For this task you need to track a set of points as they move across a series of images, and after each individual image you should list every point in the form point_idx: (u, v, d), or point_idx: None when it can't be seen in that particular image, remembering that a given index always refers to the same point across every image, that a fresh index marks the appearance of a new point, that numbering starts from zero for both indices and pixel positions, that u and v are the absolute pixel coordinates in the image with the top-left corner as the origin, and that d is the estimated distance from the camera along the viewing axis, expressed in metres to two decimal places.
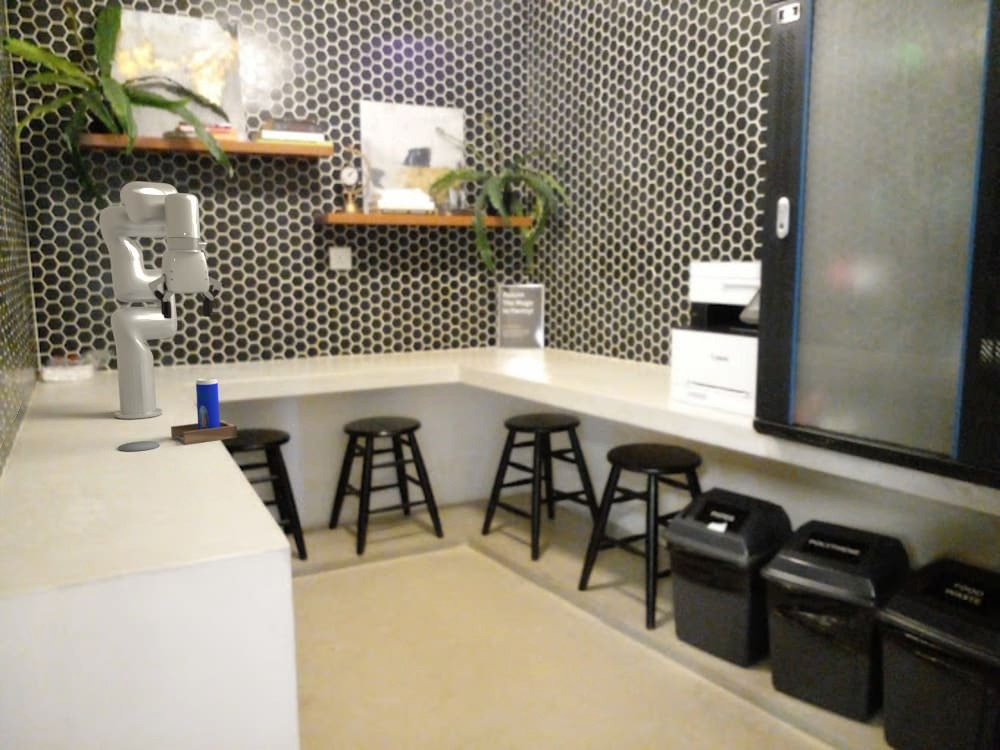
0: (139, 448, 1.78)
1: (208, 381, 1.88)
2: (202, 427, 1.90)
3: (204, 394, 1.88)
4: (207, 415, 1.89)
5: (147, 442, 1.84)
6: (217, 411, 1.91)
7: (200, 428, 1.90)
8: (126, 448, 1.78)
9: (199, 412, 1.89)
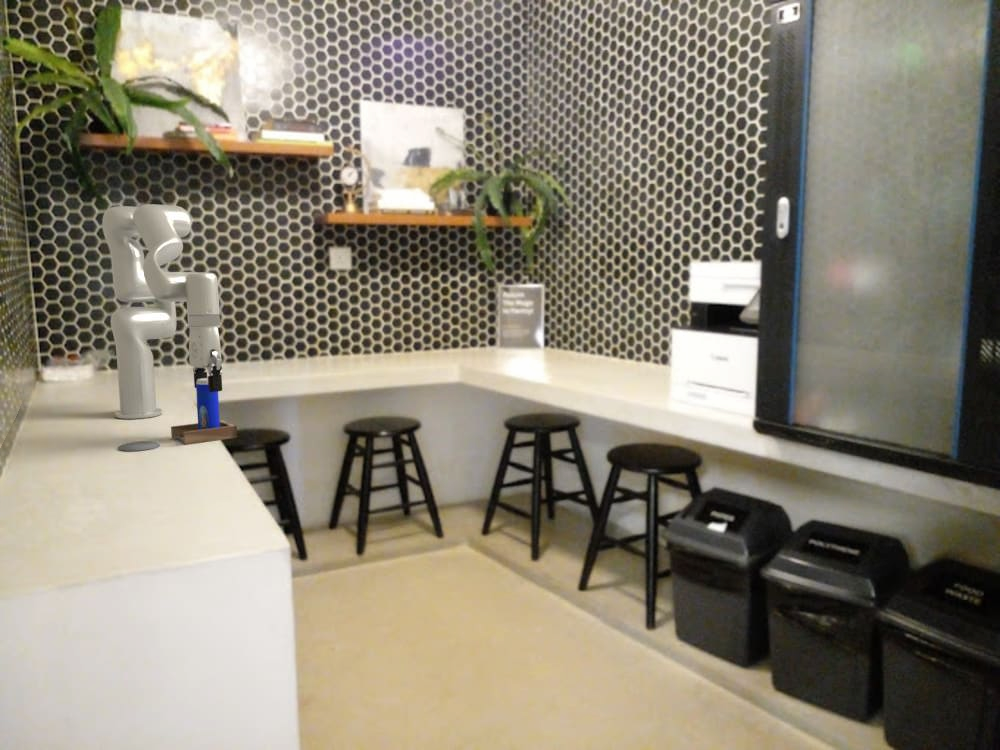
0: (139, 448, 1.78)
1: None
2: (202, 427, 1.90)
3: (204, 394, 1.88)
4: (207, 415, 1.89)
5: (147, 442, 1.84)
6: (217, 411, 1.91)
7: (200, 428, 1.90)
8: (126, 448, 1.78)
9: (199, 412, 1.89)
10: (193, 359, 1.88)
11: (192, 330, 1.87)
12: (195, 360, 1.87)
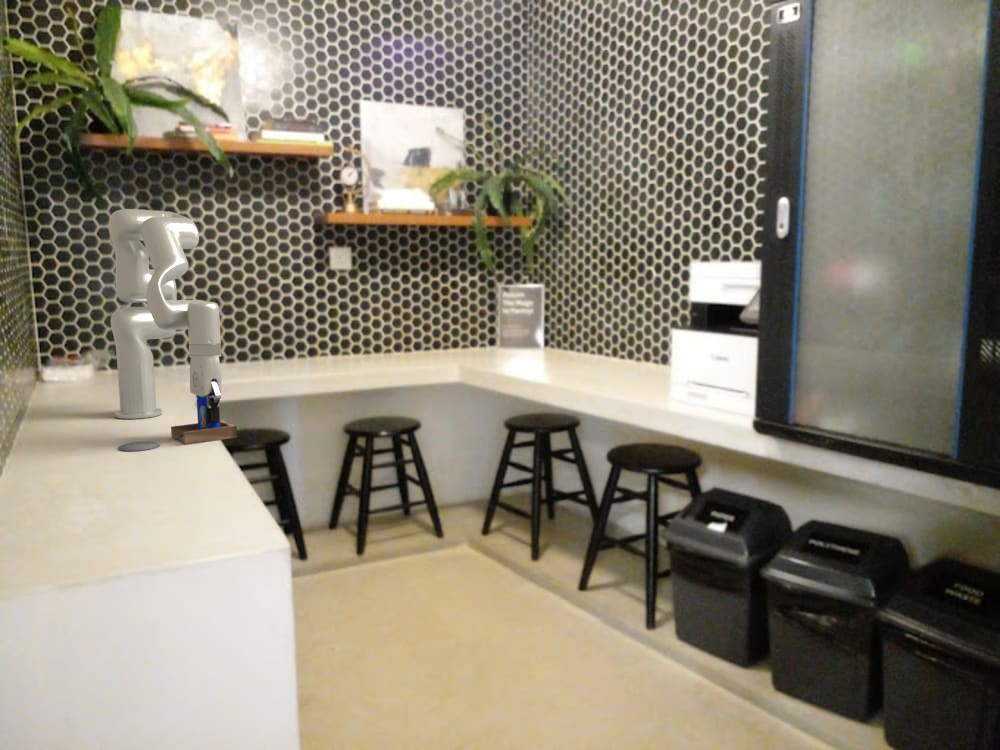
0: (139, 448, 1.78)
1: None
2: (202, 427, 1.90)
3: None
4: None
5: (147, 442, 1.84)
6: None
7: (200, 428, 1.90)
8: (126, 448, 1.78)
9: (199, 412, 1.89)
10: (194, 387, 1.90)
11: (193, 359, 1.89)
12: (196, 389, 1.89)
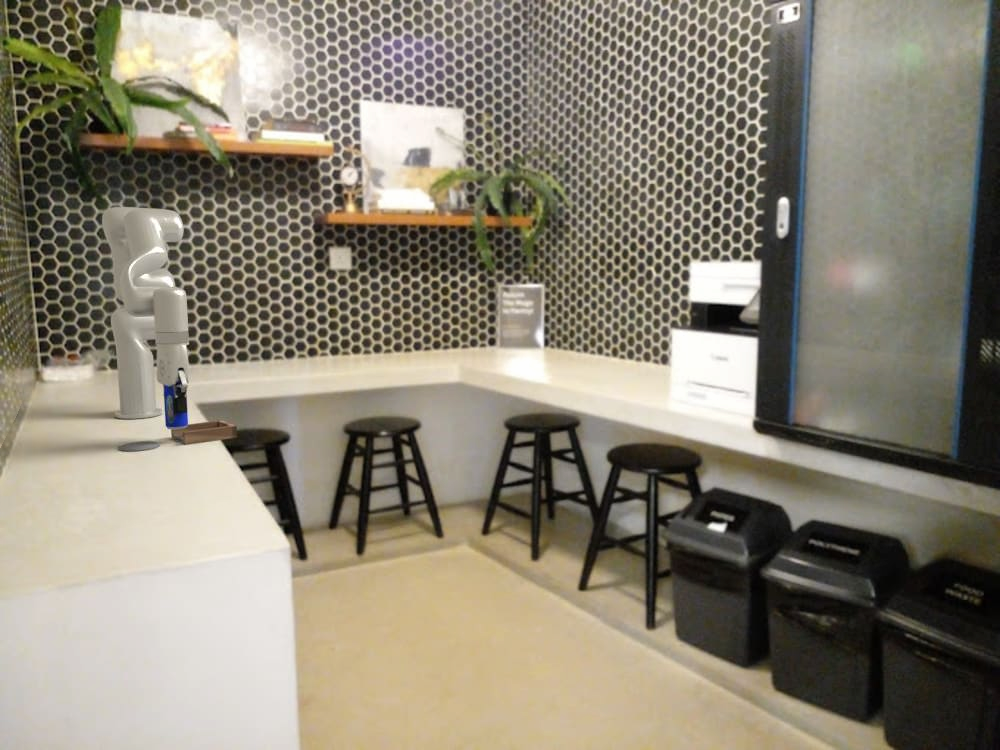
0: (139, 448, 1.78)
1: None
2: (169, 417, 1.84)
3: None
4: None
5: (147, 442, 1.84)
6: None
7: (167, 418, 1.84)
8: (126, 448, 1.78)
9: (166, 402, 1.84)
10: (160, 376, 1.84)
11: (160, 347, 1.83)
12: (162, 378, 1.83)
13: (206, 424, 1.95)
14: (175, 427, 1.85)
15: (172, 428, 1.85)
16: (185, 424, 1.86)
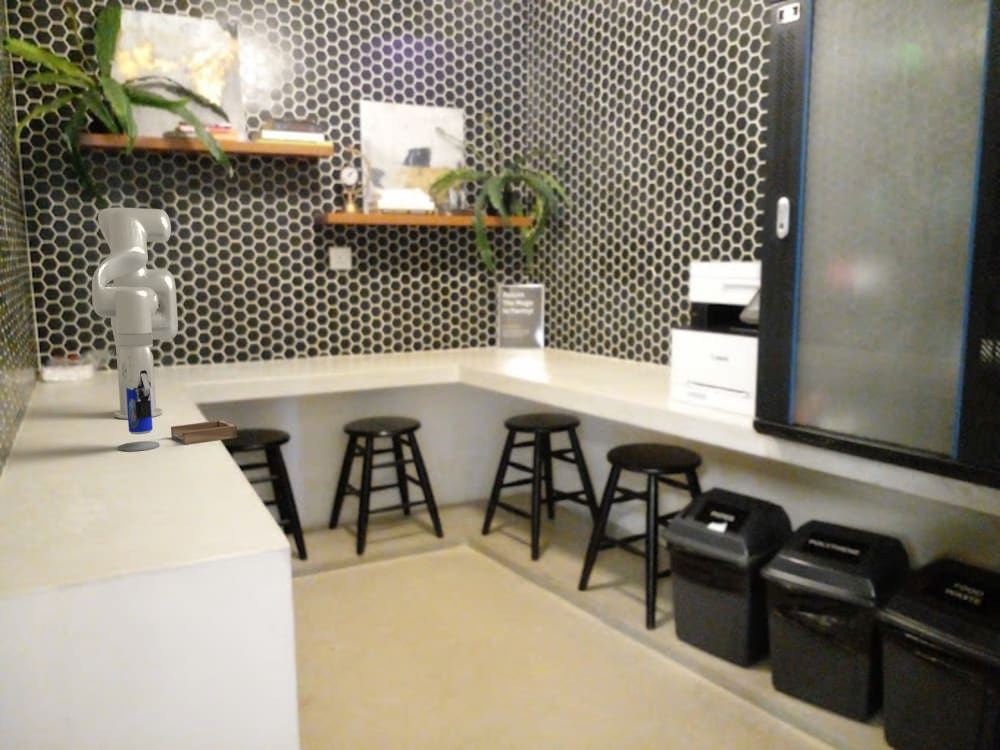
0: (139, 448, 1.78)
1: None
2: (132, 422, 1.79)
3: None
4: None
5: (147, 442, 1.84)
6: None
7: (130, 423, 1.79)
8: (126, 448, 1.78)
9: (129, 406, 1.78)
10: (123, 380, 1.79)
11: (122, 349, 1.77)
12: (125, 381, 1.78)
13: (206, 424, 1.95)
14: (139, 432, 1.79)
15: (135, 433, 1.79)
16: (149, 429, 1.81)
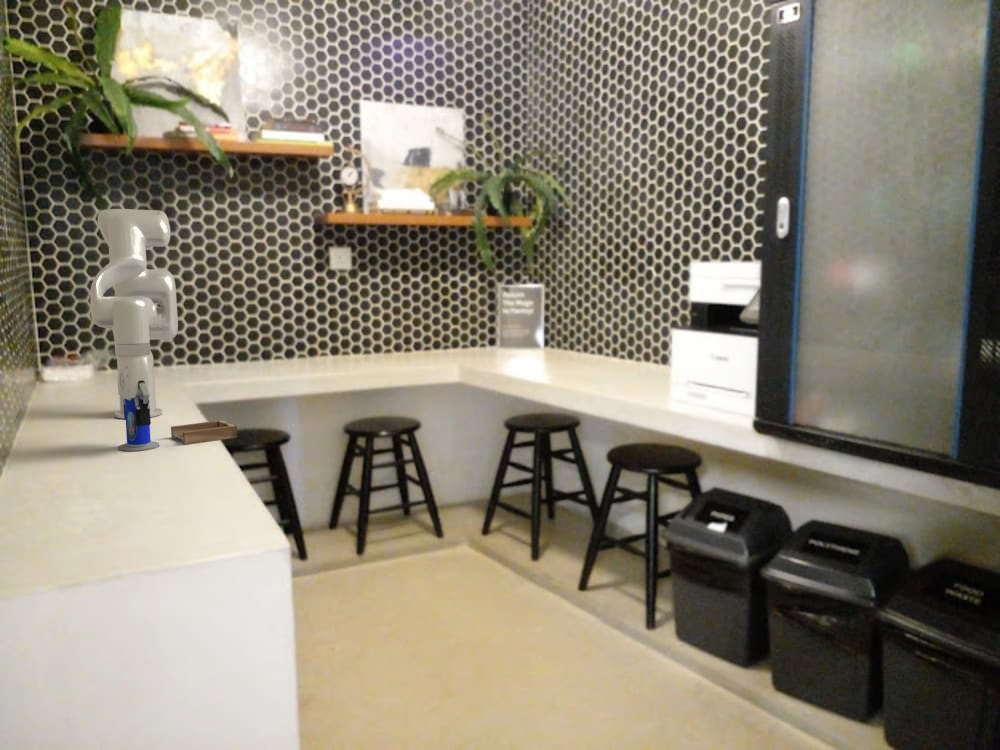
0: (139, 448, 1.78)
1: None
2: (130, 435, 1.79)
3: (132, 400, 1.77)
4: (135, 422, 1.78)
5: None
6: None
7: (128, 436, 1.79)
8: (126, 448, 1.78)
9: (127, 419, 1.78)
10: (121, 390, 1.78)
11: (120, 359, 1.77)
12: (123, 391, 1.77)
13: (206, 424, 1.95)
14: (137, 445, 1.79)
15: (133, 446, 1.79)
16: (147, 441, 1.81)
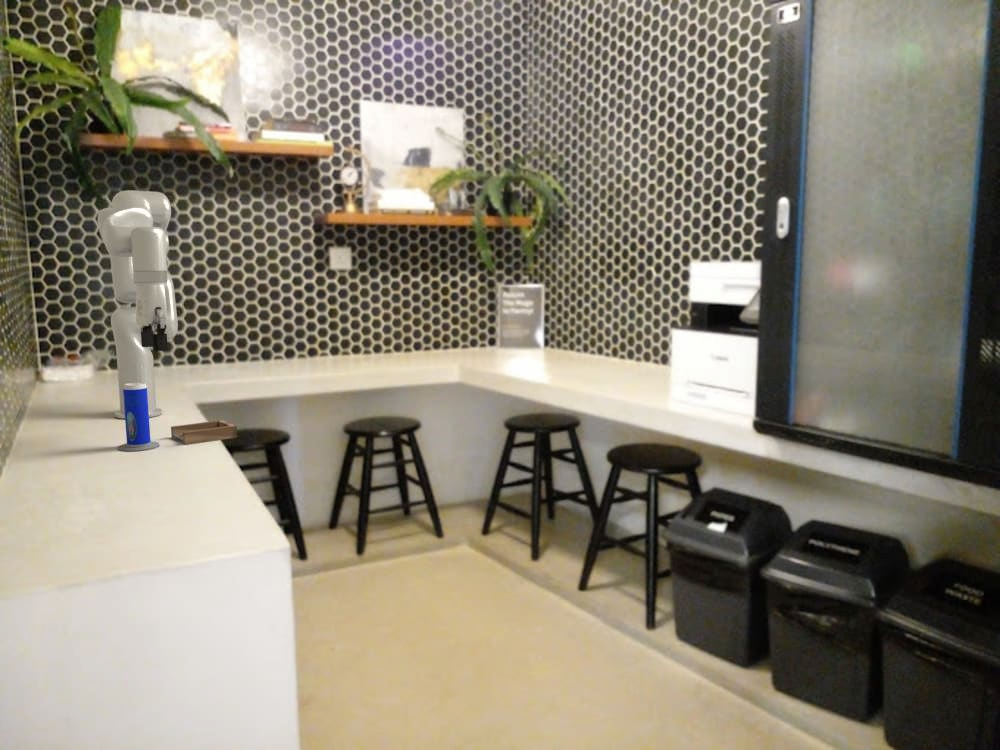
0: (139, 448, 1.78)
1: (135, 386, 1.77)
2: (130, 435, 1.79)
3: (132, 400, 1.77)
4: (135, 422, 1.78)
5: None
6: (146, 418, 1.80)
7: (128, 436, 1.79)
8: (126, 448, 1.78)
9: (126, 419, 1.78)
10: (139, 317, 1.82)
11: (138, 286, 1.81)
12: (140, 318, 1.81)
13: (206, 424, 1.95)
14: (137, 445, 1.79)
15: (133, 446, 1.79)
16: (147, 441, 1.81)
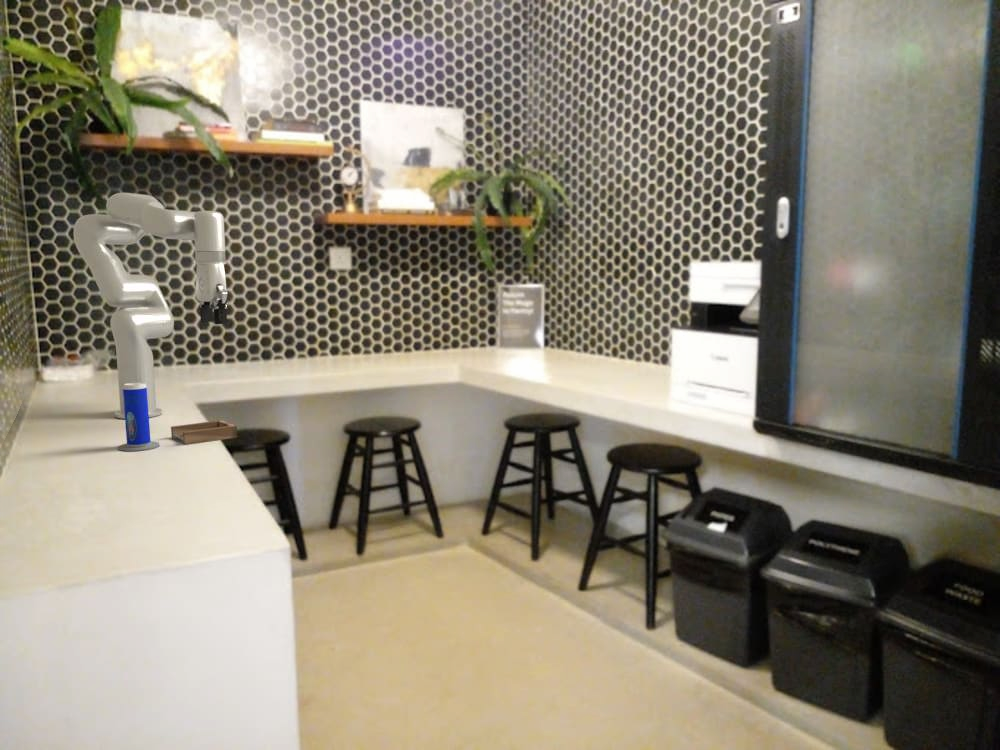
0: (139, 448, 1.78)
1: (135, 386, 1.77)
2: (130, 435, 1.79)
3: (131, 400, 1.77)
4: (135, 422, 1.78)
5: None
6: (146, 417, 1.80)
7: (128, 436, 1.79)
8: (126, 448, 1.78)
9: (126, 419, 1.78)
10: (200, 293, 2.00)
11: (199, 266, 1.99)
12: (202, 294, 1.99)
13: (206, 424, 1.95)
14: (137, 445, 1.79)
15: (133, 446, 1.79)
16: (147, 441, 1.81)
